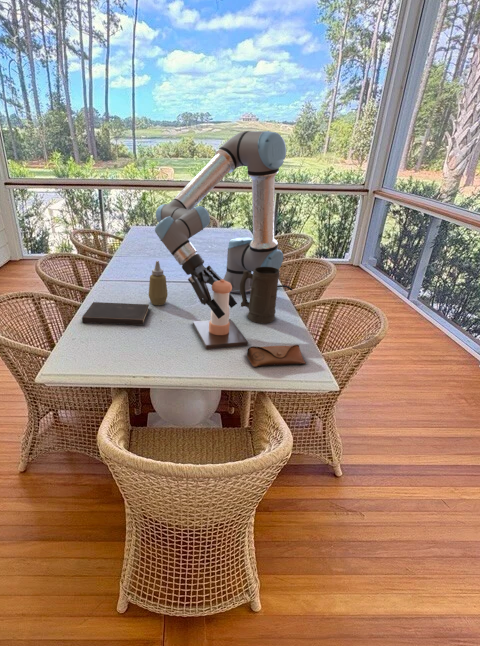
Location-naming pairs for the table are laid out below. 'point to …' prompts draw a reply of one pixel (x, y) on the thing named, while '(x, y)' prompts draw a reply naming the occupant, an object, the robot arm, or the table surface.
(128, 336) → the table surface
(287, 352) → the sunglasses case
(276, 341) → the table surface
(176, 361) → the table surface
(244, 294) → the beer stein
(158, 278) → the squeeze bottle
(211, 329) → the pepper shaker
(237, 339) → the serving board
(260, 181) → the robot arm
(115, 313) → the hardcover book
